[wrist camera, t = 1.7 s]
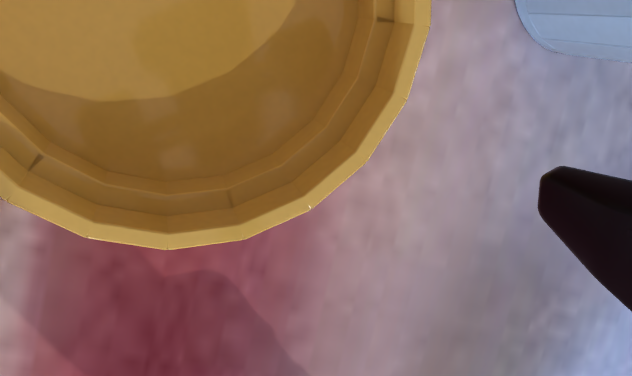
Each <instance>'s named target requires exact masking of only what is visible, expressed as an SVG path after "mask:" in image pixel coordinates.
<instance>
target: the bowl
mask: <svg viewBox="0 0 632 376" xmlns="http://www.w3.org/2000/svg"><path fill="white" fill-rule="evenodd" d="M430 25H431V0H0V197H1V198H3V199H4V200H7V202H8V203H11V204H13V205H15V206H17V207H19V208H21V209H24V210H26V211H28V212H30V213H32V214H35V215H37V216H39V217H41V218H43V219H45V220H48V221H50V222H52V223H54V224H56V225H58V226H61V227H63V228H65V229H67V230H69V231H72V232H74V233H76V234H78V235H80V236H82V237H85V238H86V237H87V238H89V239H96V240H103V241H109V242H116V243H123V244H129V245H136V246H143V247H149V248H156V249H163V250H167V249H168V250H173V249H180V248H187V247H195V246H202V245H209V244H217V243H224V242H231V241H239V240H243V239H247V238H249V237H252V236H254V235H256V234H258V233H260V232H263V231H265V230H267V229H269V228H272V227H274V226H276V225H278V224H281V223H283V222H285V221H287V220H289V219H292V218H294V217H296V216H298V215H301V214H303V213H305V212H307V211H310V210H311V209H312V208H314V207H315V206H316V205H317V204H318V203H320V202H321V201H322V200H323V199H324V198H325V197H327V196H328V195H329V194H330V193H331V192H332V191H334V190H335V189H336V188H337V187H338V186H339V185H341V184H342V183H343V182H344V181H345V180H346V179H348V178H349V177H350V176H351V175H352V174H353V173H355V172H356V171H357V170H358V169H359V168H360V167H362V166H363V165H364V164H365V163H366V161H368V160H369V158H370V156H371V155H372V153H373V152H374V150H375V149H376V147H377V146H378V144H379V143H380V141H381V140H382V138H383V137H384V135H385V134H386V132H387V131H388V129H389V127H390V126H391V124H392V123H393V121H394V120H395V118H396V117H397V115H398V114H399V112H400V111H401V109H402V108H403V106H404V105H405V103H406V101H407V100H406V99H408V96H409V93H410V90H411V87H412V84H413V80H414V77H415V74H416V71H417V68H418V64H419V61H420V58H421V55H422V51H423V48H424V45H425V42H426V39H427V35H428V32H429V29H430V27H429V26H430Z"/></svg>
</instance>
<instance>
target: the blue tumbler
mask: <svg viewBox="0 0 632 376" xmlns="http://www.w3.org/2000/svg"><path fill="white" fill-rule="evenodd" d="M515 3H516V8H517V11H518V14H519V17H520V19H521V21H522V23H523V25H524V27H525V29H526V30H527V32H528V33H529V34H530V35H531V36H532V38H533V39H534V40H535V41H536V42H538V43H539V44H540V45H541V46H543V47H545V48H546V49H548V50H550V51H553V52H555V53H560V54H565V55H572V56H580V57H588V58H595V59H603V60H611V61H619V62H626V63H632V0H515Z"/></svg>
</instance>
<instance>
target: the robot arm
mask: <svg viewBox="0 0 632 376" xmlns="http://www.w3.org/2000/svg"><path fill="white" fill-rule="evenodd" d="M538 211H539V213H540V216H541V217H542V219H543V220H544V221H545V222H546V223H547V225H548V226H549V227H550V228H551V229H552V230H553V231H554V232H555V234H556V235H557V236H558V237H559V238H560V239H561V240H562V241H563V243H564V244H565V245H566V246H567V247H568V248H569V249H570V250H571V251H572V253H573V254H574V255H575V256H576V257H577V258H578V259H579V260H580V262H581V263H582V264H583V265H584V266H585V267H586V268H587V269H588V270H589V272H590V273H591V274H592V275H593V276H594V277H595V278H596V279H597V280H598V281H599V282H600V283H601V284H602V285H603V286H604V287H605V288H607V289H608V290H609V291H610V292H611V293H612V294H613V295H614V296H615V297H616V298H617V299H619V300H620V301H621V302H622V303H623V304H624V305H625V306H626V307H627V308H628V309H630V310H631V311H632V181H631V180H626V179H622V178H617V177H613V176H608V175H603V174H599V173H594V172H590V171H585V170H581V169H576V168H571V167H566V166H559V167H556V168H555V169H553V170H551V171H549V172H547V173H546V174H544V175H543V176H542V177H541V180H540V187H539V197H538Z"/></svg>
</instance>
